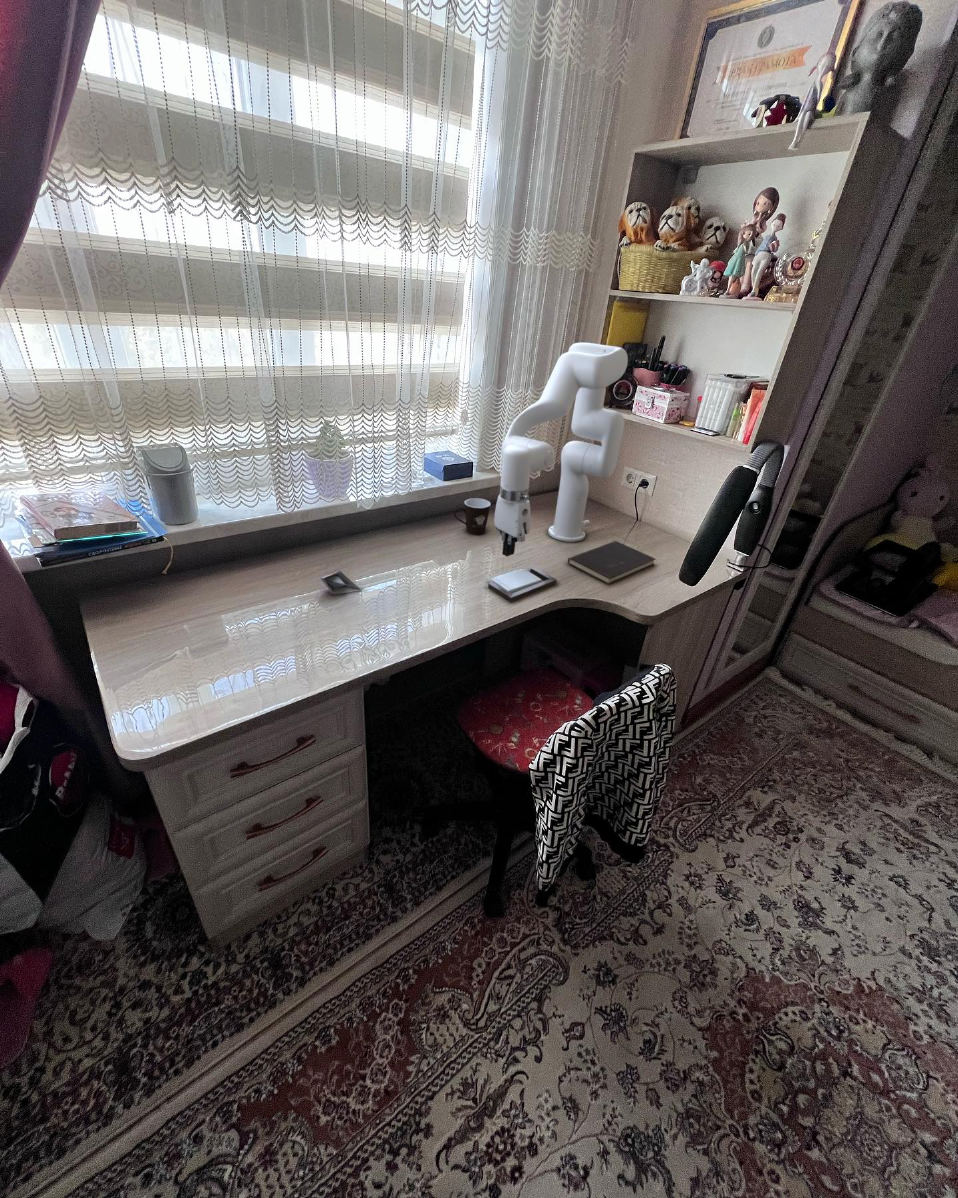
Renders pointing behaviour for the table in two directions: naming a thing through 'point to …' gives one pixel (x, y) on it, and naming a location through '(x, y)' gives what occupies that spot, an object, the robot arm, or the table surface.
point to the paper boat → (339, 583)
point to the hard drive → (516, 580)
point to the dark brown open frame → (527, 591)
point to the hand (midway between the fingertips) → (508, 554)
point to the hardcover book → (611, 562)
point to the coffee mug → (475, 515)
